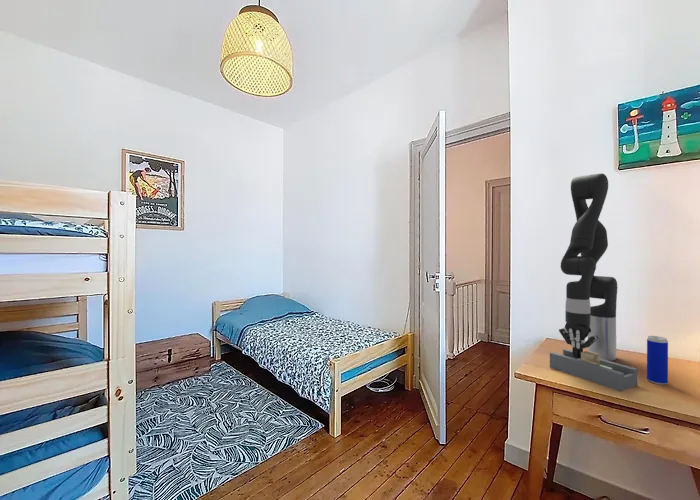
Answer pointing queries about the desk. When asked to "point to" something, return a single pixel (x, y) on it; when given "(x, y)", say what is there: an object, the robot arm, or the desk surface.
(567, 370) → the box
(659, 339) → the blue cylinder
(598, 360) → the birch block
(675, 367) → the desk surface
